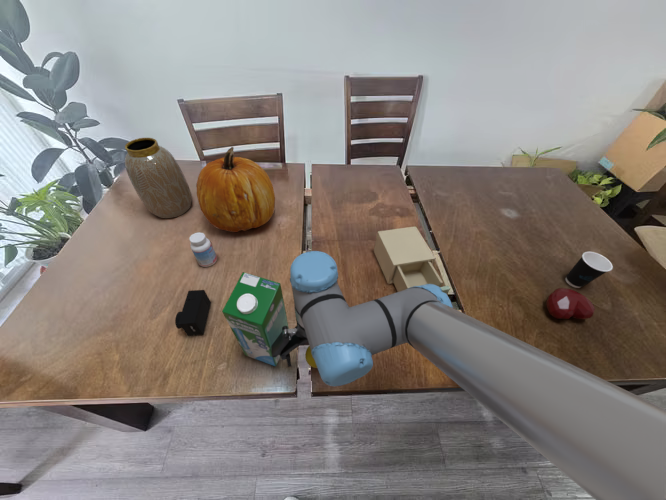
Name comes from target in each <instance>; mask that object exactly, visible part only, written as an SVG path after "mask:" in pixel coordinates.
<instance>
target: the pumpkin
mask: <svg viewBox="0 0 666 500" xmlns="http://www.w3.org/2000/svg"><path fill="white" fill-rule="evenodd" d="M196 197H197V202H198V204H199V208H200V211H201V213H202V215H203V216H204V217H205V219H206V220H207V221H208V222H209V223H210V225H212V226H214V227H215V228H216V229H218V230H221V231H226V232H230V233H231V232H232V233H238V232H240V231H248V230H250V229H256V228H257V229H258V228H259V227H262V226H264V225H265V224H267V223H268V222H269V220H270V219H271V218H272V217H273V215H274V212H275V205H276V204H275V203H276V195H275V190H274V186H273V183H272V181H271V179H270V176H269V174H268V173H267V172H266V170H264V169H263V167H262V166H260V165H259V164H258V163H257V162H256V161H254V160H251V159H250V158H246V157H243V156H242V157H240V156H235V152H234V146H231V147H230V148H228V150H227V151H226V152H225V154H224V157H219V158H217V159H215V160H212V161H209V162H208V163H206V165H205V166H203V168H202V169H201V170H200V172H199V173H198V176H197V180H196Z"/></svg>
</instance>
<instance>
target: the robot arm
mask: <svg viewBox="0 0 666 500" xmlns="http://www.w3.org/2000/svg"><path fill="white" fill-rule="evenodd" d="M289 271H290V274H289V276H290V278H289V282H290V286H291V291H292V297H293V304H294V306H293V307H294V315H295V322H296V325H295V327H294V328H290V327H289V328H288V326H289V325H288V326H283V327H282V332H281V333H280V335H279V336H278V338H277V339H276V340H275V342H274V343H273V344H272V346H271V352H272V357H273V358H274V357H277V356H278V355H280V360H282V361H285V360H286V363H287V367H288V368H290V367H292V360H291V359H292V358H291V354H290V353H291V352H293V351H294V350H296V349H297V348H298V347H300V346H304V345H305V344H307V343H308V345H309V346H310V349H311V353H312V356H313V358H314V360H315V363H316V365H317V368H316V369H317V371H318V373H319V376H320V378H321V381H322V382H323V383H324V384H325V385H327V386H330V387H340V386H345V385H348V384H351V383H353V382H355V381H356V380H358V379H360V378H363V377H364V376H366V375H367V374H368V373H370V372H371V370H372V369H373V366H374V360H373V356H374V355H377V354H379V353H382V352H384V351H387V350H390V349H392V348H395V347H398V346H400V345H404V344H408V345H409V346H411V348H412V349H415V350H416V351H417V352H418V353H419V354H420V355H421V356H423V357H424V358H425V359H426V360H428V361H429V362H430V363H431V364H433V365H434V366H435V367H436V368H437V369H438V370H440V371H441V372H442V373H444V375H445V376H447V377H448V378H449V379H450V380H452V381H453V382H454V383H455V384H456V385H458V387H460V388H461V389H462V390H464V392H466V393H467V394H468V395H469V396H471V397H472V398H473V399H474V400H475V401H477V402H478V403H479V404H480V405H482V406H483V407H484V408H485V409H486V410H488V411H489V412H490V413H491V414H492V415H493V416H495V417H496V418H497V419H498V420H500V422H501V423H503V424H504V425H505V426H506V427H508V428H509V429H510V430H511V431H513V432H514V433H515V434H516V435H518V436H519V437H520V438H521V440H523V441H525V442H526V443H527V444H528V445H529V446H531V447H532V448H533V449H534V450H536V452H538V453H539V454H540V455H541V456H543V457H544V458H545V459H546V460H547V461H548V462H550V463H551V465H554V466H555V467H556V468H557V469H558V470H560V471H561V472H562V473H563V474H564V475H565V476H566V477H568V478H569V479H570V480H572V482H574V484H576V485H577V486H579V487H580V488H581V489H582V490H583V491H585V492H586V493H587V494H588V495H589V496H590V497H592V498H593V499H594V500H666V408H665V407H663V406H660V405H658V404H656V403H654V402H652V401H650V400H648V399H646V398H644V397H642V396H640V395H637V394H635V393H633V392H631V391H630V390H629V391H628V390H626V389H625V388H623V387H620V386H618V385H616V384H614V383H612V382H610V381H608V380H606V379H604V378H602V377H599V376H597V375H595V374H593V373H591V372H589V371H586V370H585V369H582V368H580V367H578V366H576V365H574V364H572V363H569V362H567V361H565V360H563V359H561V358H560V357H557V356H554V355H553V354H550V353H549V352H546V351H544V350H542V349H540V348H538V347H535V346H534V345H531V344H529V343H528V342H525V341H523V340H521V339H519V338H517V337H515V336H513V335H511V334H509V333H507V332H504V331H502V330H500V329H498V328H496V327H494V326H492V325H490V324H487V323H486V322H484V321H481V320H480V319H477V318H474V317H473V316H470V315H468V314H466V313H464V312H462V311H460V310H458V309H455V308H454V307H453V303H452V301H451V299H450V297H449V296H448V294H446V293H443V292H442V290H441V288H440V287H438V286H436V285H434V284H425V285H421V286H414V287H410V288H408V289H406V290H403V291H400V292H398V291H396V292H394V293H391V294H388V295H385V296H381V297H379V298H375V299H372V300H369V301H366V302H362V303H359V304H355V305H352V306H349V304H348V303H347V300H346V298H345V296H344V293H343V292H342V290H341V288H340V285H339V283H338V279H339V272H338V265H337V263H336V261H335V259H334V258H333V257H332V256H331V255H330V254H328V253H327V252H324V251H321V250H310V251H305V252H303V253H300V254H299V255H297V256H296V257H295V258H294V260H293V261H292V262H291V264H290V270H289Z"/></svg>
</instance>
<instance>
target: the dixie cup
mask: <svg viewBox="0 0 666 500" xmlns="http://www.w3.org/2000/svg"><path fill="white" fill-rule="evenodd" d="M613 269H614V266H613V264H612V262H611V261H610V260H609V258H607V257H606V256H604V255H602V254H601V253H598V252H595V251H585V252H583V253H582V255H581V257H580V258H579V259H578V261H577V262H576V263H575V264H574V266H573V267H572V268H571V269H570V271H569V272H568V273H567V274H566V276H565V279H564V280H565V282H566V283H567V285H569V286H570V287H572V288H574V289H580V288H583V287H585V286H586V285H588V284H590V283H592V282H593V281H594V280H596V279H598V278H599V277H601V276H602V275H604V274H606V273H608V272H611V271H612V270H613Z"/></svg>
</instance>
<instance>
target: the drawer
mask: <svg viewBox="0 0 666 500" xmlns="http://www.w3.org/2000/svg"><path fill="white" fill-rule="evenodd" d="M392 280H393V283H392V284H393V285H394V287H395V289H396V292H400V291H403V290H406V289H408V288H410V287H414V286H421V285H425V284H434V285H436V286H438V287H440V288H441V290H442V292H443V293H446V294H447V295H448V294H449V292H450V291H451V287H450V286H449V285H444V286H442V285H443V284H444V282H443V280H442V278H441V277H440V275H439V273H438V271H437V270H436V268H435V267H434V264H433V265H432V263H431V262H430V261H426V262H420V263H414V264H407V265H401V266H396V268H395V271H394V274H393V277H392Z"/></svg>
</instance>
